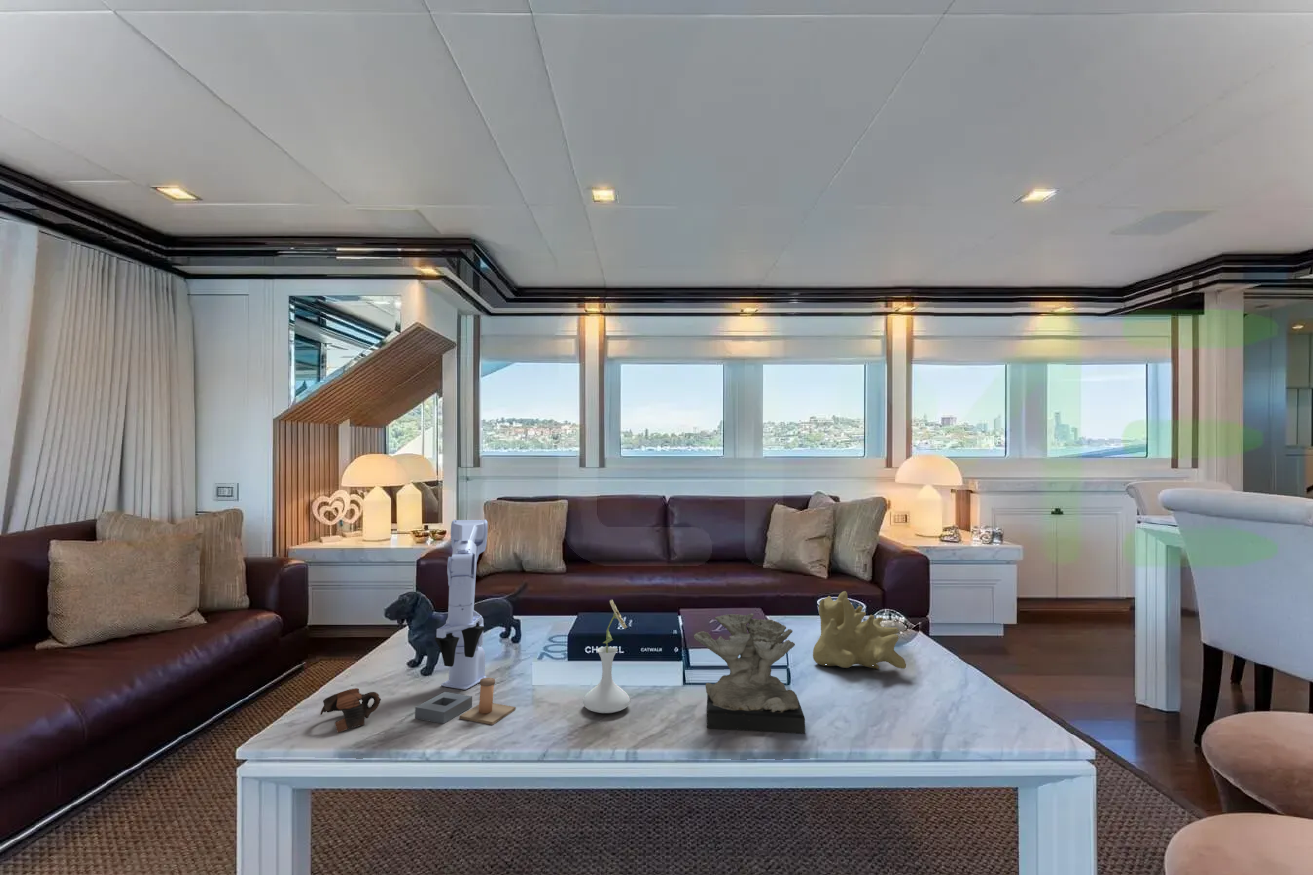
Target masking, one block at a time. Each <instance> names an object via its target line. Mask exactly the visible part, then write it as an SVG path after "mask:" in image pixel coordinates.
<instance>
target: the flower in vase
mask: <svg viewBox="0 0 1313 875" xmlns="http://www.w3.org/2000/svg"><path fill="white" fill-rule="evenodd" d="M609 604H610V606H611V609H612V610H613V616H612V618H610V619H611V620H610V621H609V623H608V626H607V628H606V635H605V636H606V638H605V639H606V640H605V641H603V642H602V644H605V646H602V647H601V646H600V647H598V648H596V651H597V653H598V654H599V657H600V662H601V668H602V669H601V670H602V672H601V679H600V681H599V682H598V684H597V685H596V686H594V687H593V688H592V689H591V690H589V691H588V692H587V693H586V694H585V695H584V696H583V699H582V704H583V706H584V707H585V708H586V710H588V711H591V712H594V713H599V714H612V713H617V712H620V711H623V710H624V709H626V708H627V707H629V704H630V703H631V699H630V697H629V694H628V693H627V692H626V691H625V690H623V689H622V688H621V687H620V686H618V684H616V683H615V681H614V680H613V674H612V670H613V669H612V668H613V661H614V657H615V655H616V653H617V652H618V648H617V647H614V646H609V644H608V643H611V641H613V640H614V639H613V638H612V635H611V632H610V631H609V630H610V627H611V624H612V622H613V620H614V619H617V620H618V623H619V624H620V625H621V626H622V628H623V630H625V629H627V628H628V626H627V625H626V623H625V621H624V619H623V618H622V615H621V614H620V612H619V610H618V608H617V606H616V604H615V602H614V600H613V599H611V600H609Z"/></svg>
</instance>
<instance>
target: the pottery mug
mask: <svg viewBox="0 0 1313 875" xmlns="http://www.w3.org/2000/svg"><path fill="white" fill-rule="evenodd" d="M371 699H373V702H372V704H371V706H369V702H370V700H371ZM381 699H382V698H380V694H379V693H378V692H376V691H369V692H367V693H364V694H362V693H360V689H359V688H358V687H357V688H350V689H346V690H342V691H339V692H337V693H335V694H332V695H330V696H328V697H326V698H325V699H323V701H322V703H323V706H322V708H321V711H320V713H319V714H320V716H322V715H323V713H331V712H341V711H342V714H343V718H341V719H340V720H337V721H336V722H335V723H334V725H335V729H336V732H337V733H340V732H341V733H342V732H343V731H346V730H348V729H352V728H356V727H360V726H364V725H365V719H368V718H369V717H370V715H371V714H372V713H373V712H375V711H376V710H377V709H378V707H379V706H380V704H381Z"/></svg>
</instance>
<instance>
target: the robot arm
mask: <svg viewBox="0 0 1313 875" xmlns="http://www.w3.org/2000/svg"><path fill="white" fill-rule="evenodd" d="M450 523H451V525H450V542H451V549H452V554H451V556H448V558H447V569H446V570H447V571H446V573H447V580H448V581H447V583H448V584H447V585H448V607H447V608H448V610H447V611H448V614H447V618H446V621H445V624H444V625H442V626H441V627H439V628H436V635H435V636H434V641H435V642H436V644H437V645H438V648H439V650H440V653H441V656H442V661H443V666H444V667H448V680H446V681H444V682H442V683H441V684H440V686H441V687H447V688H452V689H458V690H464V691H465V690H468V689H470V688H472V687H473V686H475V685H478V684H480V680H481V679H483V678H488V675H487V676H486V673H485V672H486V652H485V649H484V648H483V647H482V646H483V645H484V627H485V626H484V618H483V616H482V615H481V614H480V613H479V612H477V611H476V610H475V596H476V578H477V577H476V576H477V562H478V560H479V555H480V554H482V553H483V552H485V551H486V548H487V540H488V525H489V524H488V523H489V522H488V521H487V519H486V518H485V519H457V520H456V519H453V520H452V521H451V522H450Z"/></svg>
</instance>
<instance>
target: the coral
mask: <svg viewBox="0 0 1313 875" xmlns="http://www.w3.org/2000/svg"><path fill="white" fill-rule="evenodd" d="M714 620H716V621H717V622H718V623H720V625H721V626H722V627H724V628H725V629H726V630H727V631H728V632H729V634H730V635H729V637H728V638H729V639H725V638H723V637H722V635H720V636H718V638H717V639H713V638H712V635H711V634H709V632H708V631H707V632H706V631H699V632H696V633H695V634H694V635H693V637H694V639H695V640H696V641H697V642H698V643H699V644H701V645H703V646H704V647H706V648H707V650H708V649H709V651H711V652H712V653H714V654H715V655H717V656H718V657H720V658H721V659H722V660H723V661H724V662H725V663H726V666H727V667H728V668H729V674H726V675H725V674H724V675H722V676H721V677H719V680H718V681H717V682H716V683H710V682H706V683H705V690H706V728H707V729H719V730H733V731H734V730H735V731H736V730H737V731H748V732H749V731H750V732H751V731H752V732H754V731H755V732H769V733H783V734H784V733H785V734H802V735H803V734H806V719H805V715H804V711H803V709H802V706H801V703H800V701H799V698H798V696H797V693H796V692H795V691H794V690H792V689H786V686H785V684H784V682H782V681H781V680H780V679H779V678H778V677H777V676H773V675H771V674H772V668H771V667H772V665H773V664H775V663H776V662H778V661H779V660H780V659H781V658H784V656H786V654H787V653H788V652H790V650H792V648H794V647H795V646H796V644H795V642H794V641H791V640H789V639H788V638H789V637H790V635H791V634H793V629H791V628H788V629H787V626H786V625H784V624H782V623H781V622H779V621H777V620H776V621H775V620H773V619H771V618H770V619H769V618H768V619H760V618H759V619H757V618H754V613H748V614H747V615H746V614H744V615H743V614H737V613H735V614H734V613H730V614H729V613H727V614H722V615H718V616H715V617H714ZM786 629H787V630H786ZM787 639H788V640H787Z"/></svg>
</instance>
